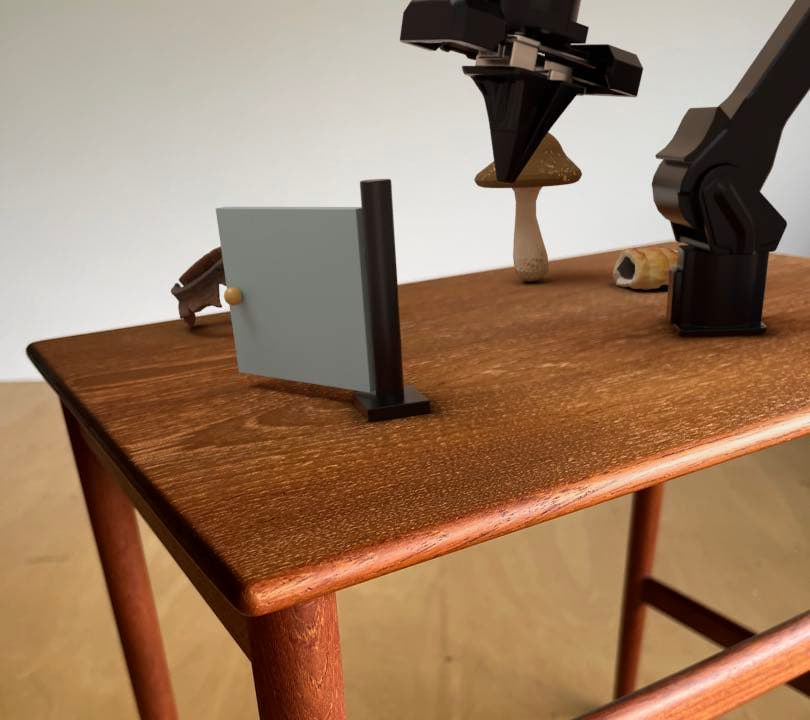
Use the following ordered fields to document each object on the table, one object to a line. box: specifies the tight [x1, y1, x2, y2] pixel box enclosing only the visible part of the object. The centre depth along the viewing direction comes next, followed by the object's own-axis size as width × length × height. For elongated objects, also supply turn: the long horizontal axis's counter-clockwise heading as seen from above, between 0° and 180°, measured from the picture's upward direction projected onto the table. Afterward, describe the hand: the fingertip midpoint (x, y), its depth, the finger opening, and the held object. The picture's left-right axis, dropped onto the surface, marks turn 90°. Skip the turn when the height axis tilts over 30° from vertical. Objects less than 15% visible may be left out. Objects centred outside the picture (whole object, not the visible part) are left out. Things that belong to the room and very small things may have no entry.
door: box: [215, 206, 375, 393], centre depth 57 cm, size 12×2×11 cm, turn 53°
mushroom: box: [473, 131, 583, 283], centre depth 92 cm, size 9×11×15 cm
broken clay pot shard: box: [170, 245, 227, 328], centre depth 83 cm, size 12×10×8 cm
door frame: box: [351, 178, 431, 422], centre depth 53 cm, size 4×4×14 cm
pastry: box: [612, 245, 678, 291], centre depth 88 cm, size 9×7×4 cm
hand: (504, 182), depth 64 cm, fingers closed
